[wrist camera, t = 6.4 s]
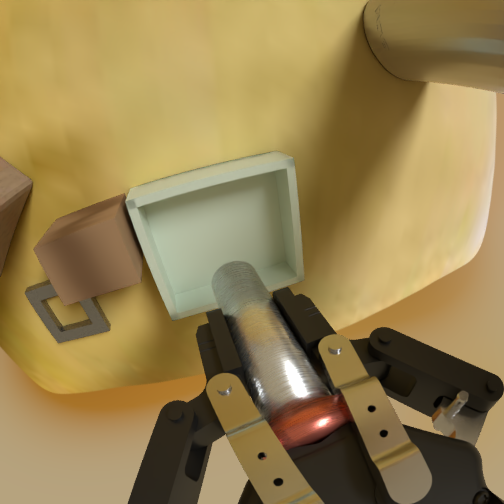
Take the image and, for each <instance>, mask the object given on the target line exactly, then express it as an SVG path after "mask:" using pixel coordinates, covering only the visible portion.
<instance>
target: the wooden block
mask: <svg viewBox="0 0 504 504" xmlns="http://www.w3.org/2000/svg"><path fill="white" fill-rule="evenodd" d="M31 188H32V181H31V179H30V178H28V177H27V176H25V175H24V174H23V173H21V172H20V171H19V170H17V169H16V168H15V167H13V166H12V165H10V164H9V163H8V162H6V161H5V160H4V159H3V158H1V157H0V276H1V274H2V270H3V267H4V263H5V259H6V256H7V252H8V249H9V246H10V243H11V240H12V237H13V234H14V231H15V228H16V225H17V222H18V220H19V217H20V214H21V212H22V209H23V207H24V204H25V202H26V199H27V197H28V195H29V192H30V190H31Z"/></svg>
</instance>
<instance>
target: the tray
mask: <svg viewBox="0 0 504 504" xmlns="http://www.w3.org/2000/svg"><path fill="white" fill-rule="evenodd" d="M125 203H126V206H127V208H128V211H129V214H130V217H131V220H132V223H133V226H134V229H135V231H136V234H137V237H138V240H139V242H140V245H141V248H142V250H143V253H144V255H145V258H146V260H147V263H148V265H149V268H150V270H151V273H152V275H153V278H154V280H155V283H156V285H157V287H158V290H159V292H160V294H161V297H162V299H163V301H164V303H165V306H166V308H167V310H168V312H169V314H170V317H171V319H172V321H174V320H178V319H181V318H185V317H188V316H192V315H195V314H199V313H202V312H206V311H209V310H212V309H216V308H218V305H217V302H216V299H215V296H214V293H213V290H212V286H211V282H212V278H213V275H214V274H215V272H216V271H217V270H218V269H219V268H220V267H221V266H222V265H224V264H226V263H228V262H232V261H244V262H247V263H249V264H251V265H252V266H253V267H254V268H255V270H256V272H257V273H258V275H259V277H260V278H261V280H262V282H263V283H264V285H265V286H266V288H267V290H268V291H269V292H271V291H274V290H277V289H280V288H283V287H286V286H289V285H292V284H295V283H298V282H301V281H304V264H303V249H302V236H301V224H300V212H299V202H298V191H297V182H296V172H295V163H294V158H293V157H291V156H288V155H286V154H284V153H281V152H279V151H274V152H269V153H264V154H259V155H254V156H249V157H244V158H240V159H235V160H231V161H227V162H223V163H218V164H214V165H210V166H206V167H202V168H199V169H195V170H191V171H187V172H184V173H180V174H176V175H173V176H169V177H166V178H162V179H159V180H156V181H152V182H149V183H146V184H143V185H140V186H136V187H133V188H130V191H129V193H128V196H127V198H126V201H125Z"/></svg>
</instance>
